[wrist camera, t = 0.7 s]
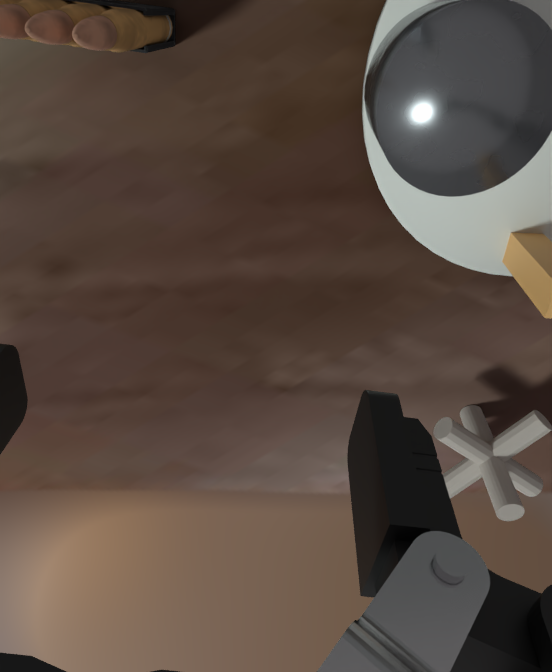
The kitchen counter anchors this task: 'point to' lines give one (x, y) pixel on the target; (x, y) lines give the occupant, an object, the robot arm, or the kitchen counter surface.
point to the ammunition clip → (89, 24)
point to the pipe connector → (493, 458)
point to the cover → (462, 94)
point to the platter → (476, 200)
